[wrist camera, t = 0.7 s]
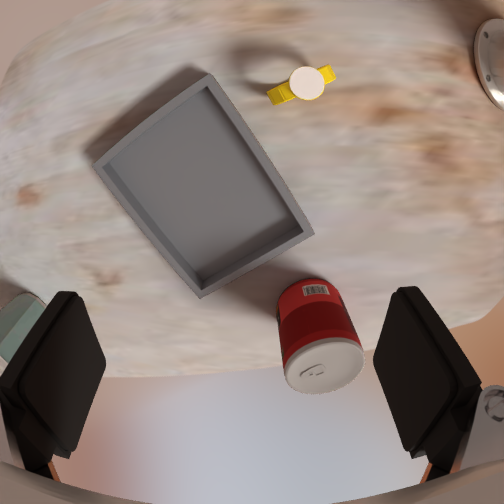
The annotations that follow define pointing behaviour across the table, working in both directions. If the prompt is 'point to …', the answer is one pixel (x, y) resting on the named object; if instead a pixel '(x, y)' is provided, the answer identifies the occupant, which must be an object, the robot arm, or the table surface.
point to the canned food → (317, 338)
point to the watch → (302, 84)
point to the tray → (203, 189)
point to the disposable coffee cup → (17, 324)
